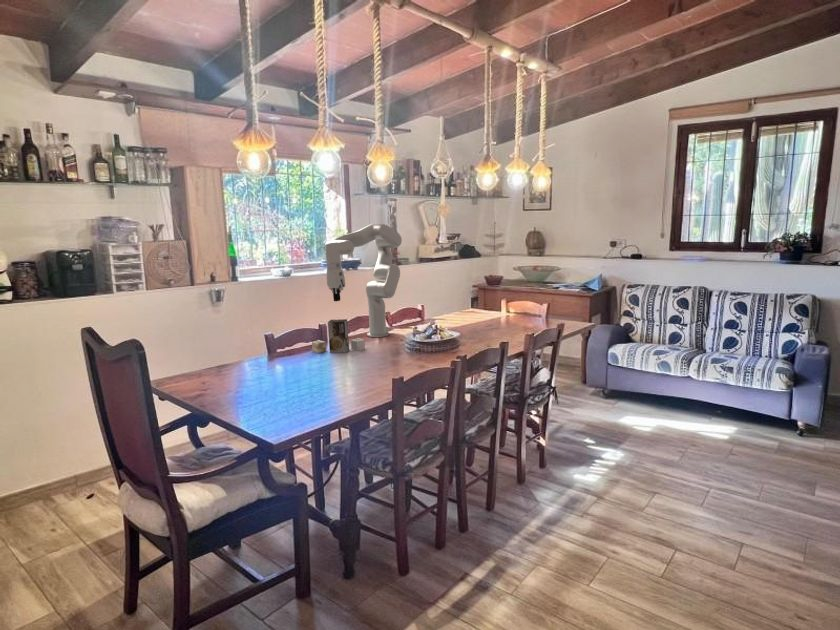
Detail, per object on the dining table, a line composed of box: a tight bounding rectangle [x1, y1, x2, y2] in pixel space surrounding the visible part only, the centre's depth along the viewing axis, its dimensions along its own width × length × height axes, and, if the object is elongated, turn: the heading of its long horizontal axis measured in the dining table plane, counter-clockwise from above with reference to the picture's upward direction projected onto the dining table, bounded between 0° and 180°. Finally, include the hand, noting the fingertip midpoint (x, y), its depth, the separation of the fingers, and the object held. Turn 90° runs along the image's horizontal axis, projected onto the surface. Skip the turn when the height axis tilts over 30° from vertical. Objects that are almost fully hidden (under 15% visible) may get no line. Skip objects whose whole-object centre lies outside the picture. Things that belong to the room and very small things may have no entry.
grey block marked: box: [350, 337, 366, 351], centre depth 279 cm, size 5×5×5 cm
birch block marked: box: [311, 340, 327, 354], centre depth 276 cm, size 5×5×5 cm
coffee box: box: [327, 318, 350, 353], centre depth 274 cm, size 9×6×16 cm
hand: (337, 300), depth 280 cm, fingers closed
